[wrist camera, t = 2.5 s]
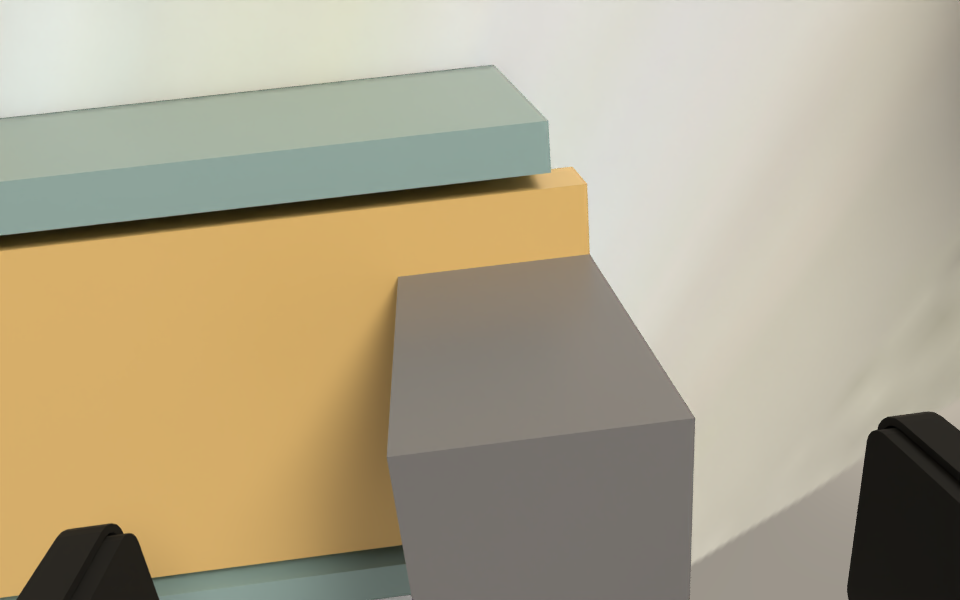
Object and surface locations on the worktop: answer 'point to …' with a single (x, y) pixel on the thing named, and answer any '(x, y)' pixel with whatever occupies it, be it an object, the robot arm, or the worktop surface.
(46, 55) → the worktop surface
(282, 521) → the lid
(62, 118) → the tub
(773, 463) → the worktop surface
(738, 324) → the worktop surface
